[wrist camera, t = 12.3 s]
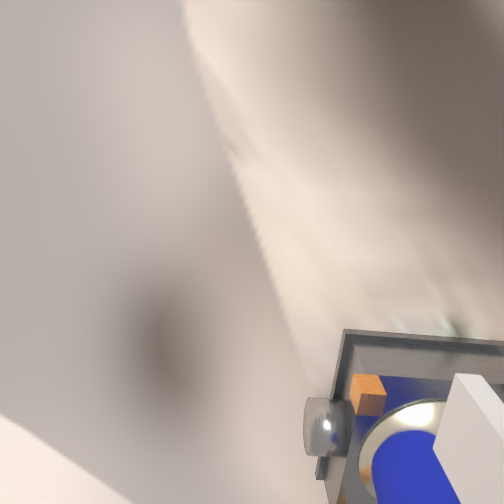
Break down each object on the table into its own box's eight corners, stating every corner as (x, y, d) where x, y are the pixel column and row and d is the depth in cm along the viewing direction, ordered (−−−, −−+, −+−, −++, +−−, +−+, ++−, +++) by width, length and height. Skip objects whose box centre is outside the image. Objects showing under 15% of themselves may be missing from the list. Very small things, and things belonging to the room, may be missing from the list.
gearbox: (317, 327, 44) (336, 384, 36) (507, 341, 45) (566, 400, 37) (292, 472, 50) (303, 549, 42) (460, 481, 51) (501, 558, 43)
